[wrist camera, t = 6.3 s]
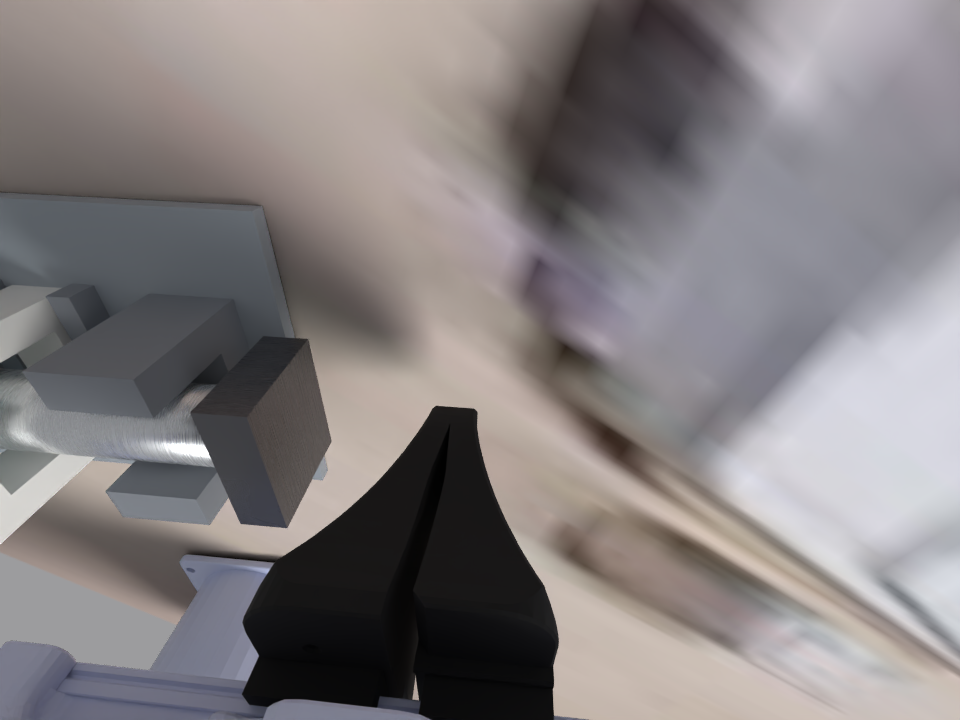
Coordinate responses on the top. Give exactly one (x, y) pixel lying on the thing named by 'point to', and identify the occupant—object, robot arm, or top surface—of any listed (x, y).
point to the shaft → (202, 429)
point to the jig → (144, 317)
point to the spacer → (32, 335)
